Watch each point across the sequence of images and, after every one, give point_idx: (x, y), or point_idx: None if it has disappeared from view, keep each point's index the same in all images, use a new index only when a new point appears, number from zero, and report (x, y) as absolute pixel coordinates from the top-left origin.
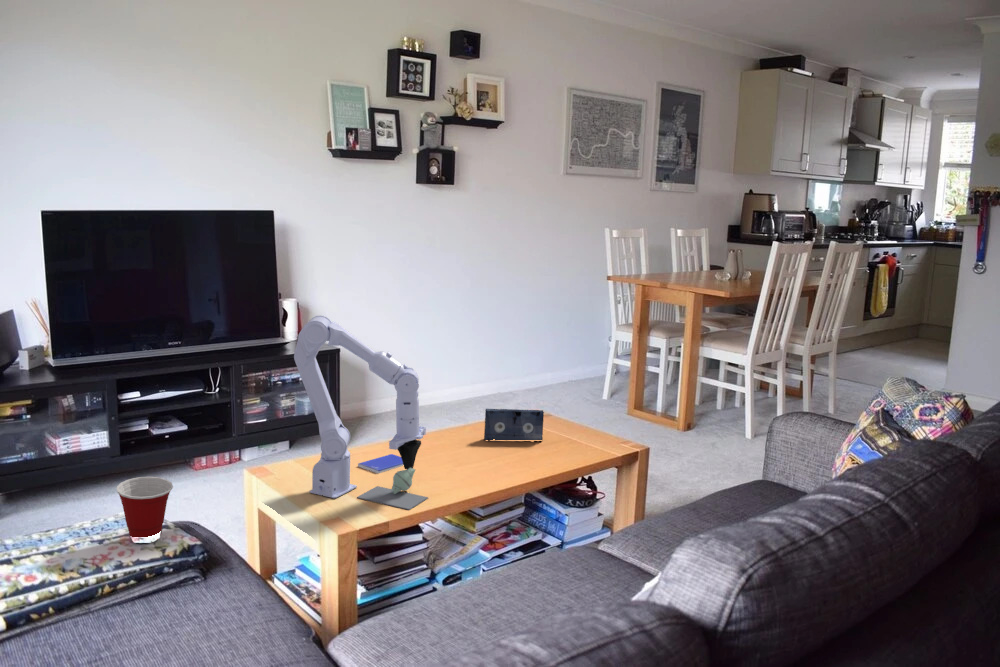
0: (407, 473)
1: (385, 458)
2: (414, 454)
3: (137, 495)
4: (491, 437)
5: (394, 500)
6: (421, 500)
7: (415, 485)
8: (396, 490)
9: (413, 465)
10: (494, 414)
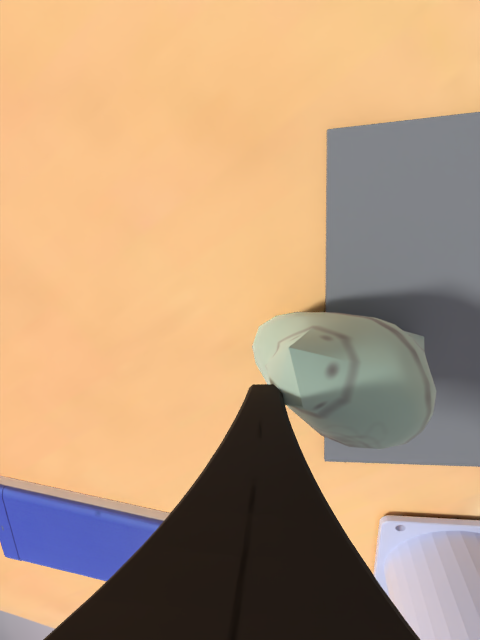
0: (365, 370)
1: (56, 555)
2: (248, 507)
3: None
4: None
5: None
6: (414, 131)
7: (182, 330)
8: (420, 341)
9: (251, 402)
10: None
